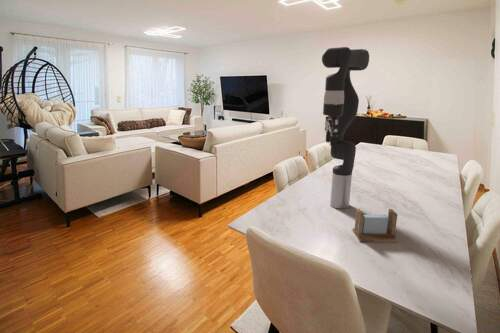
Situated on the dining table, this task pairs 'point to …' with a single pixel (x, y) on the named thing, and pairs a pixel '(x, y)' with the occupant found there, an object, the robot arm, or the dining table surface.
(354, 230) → the frame
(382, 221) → the door panel
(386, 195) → the dining table surface
